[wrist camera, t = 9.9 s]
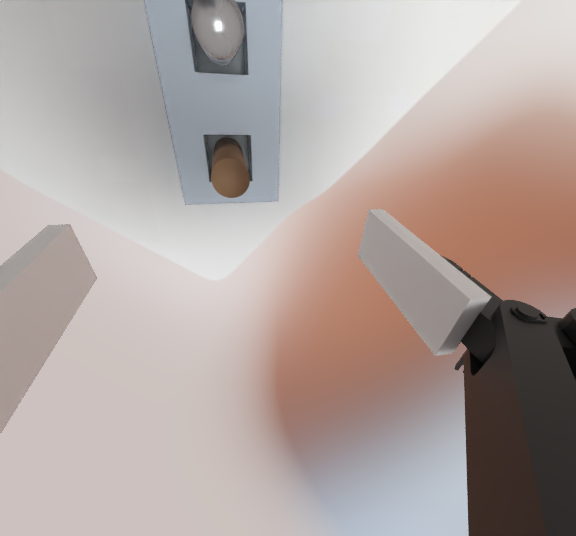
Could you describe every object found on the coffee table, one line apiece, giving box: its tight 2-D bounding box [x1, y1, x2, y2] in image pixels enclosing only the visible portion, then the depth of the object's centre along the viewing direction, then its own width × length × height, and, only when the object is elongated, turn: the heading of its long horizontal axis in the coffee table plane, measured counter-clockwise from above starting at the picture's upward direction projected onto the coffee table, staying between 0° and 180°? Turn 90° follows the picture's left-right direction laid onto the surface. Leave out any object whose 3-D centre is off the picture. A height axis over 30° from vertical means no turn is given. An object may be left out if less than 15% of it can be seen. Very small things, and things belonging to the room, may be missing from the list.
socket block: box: [144, 0, 282, 205], centre depth 24 cm, size 18×10×4 cm, turn 178°
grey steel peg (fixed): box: [191, 0, 244, 65], centre depth 19 cm, size 3×3×10 cm
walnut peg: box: [211, 137, 250, 198], centre depth 24 cm, size 3×3×10 cm
